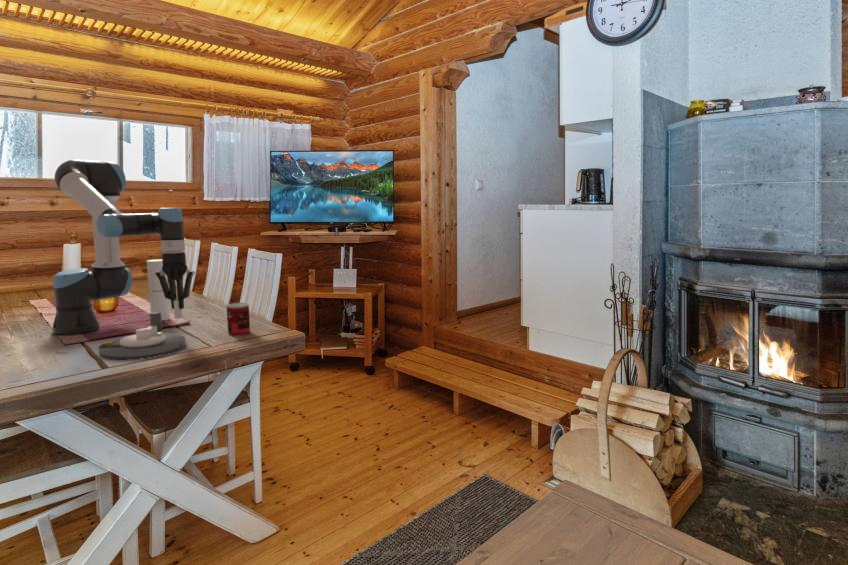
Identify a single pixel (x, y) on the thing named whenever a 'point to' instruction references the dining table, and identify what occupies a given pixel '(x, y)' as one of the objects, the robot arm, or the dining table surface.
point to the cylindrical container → (157, 290)
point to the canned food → (238, 318)
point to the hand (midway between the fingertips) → (178, 317)
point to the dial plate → (141, 348)
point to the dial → (146, 334)
